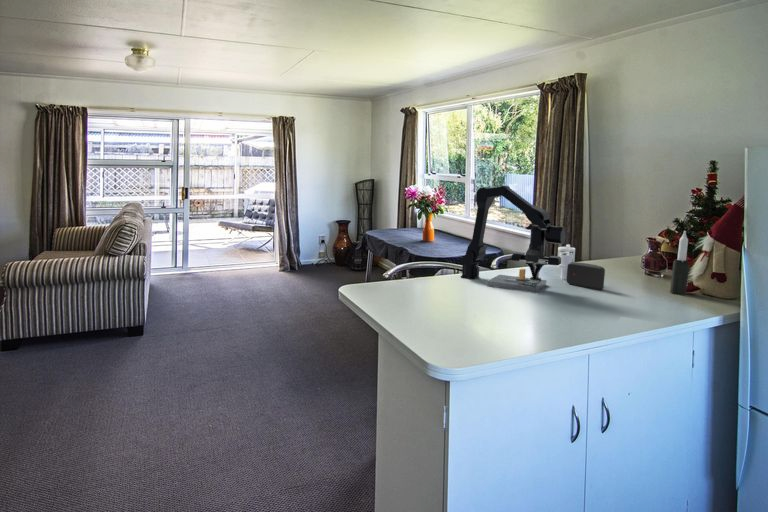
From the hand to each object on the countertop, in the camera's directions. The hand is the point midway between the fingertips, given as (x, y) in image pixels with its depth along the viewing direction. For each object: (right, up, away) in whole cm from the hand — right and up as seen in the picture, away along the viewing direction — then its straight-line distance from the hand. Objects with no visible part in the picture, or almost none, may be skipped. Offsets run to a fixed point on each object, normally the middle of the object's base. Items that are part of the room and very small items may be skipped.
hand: (534, 279), depth 216 cm
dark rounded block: (+22, -4, +4) cm, 22 cm away
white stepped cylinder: (+18, -1, +19) cm, 26 cm away
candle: (+56, -5, -4) cm, 56 cm away
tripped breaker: (-4, -1, +3) cm, 5 cm away
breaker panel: (-6, -3, +4) cm, 8 cm away
